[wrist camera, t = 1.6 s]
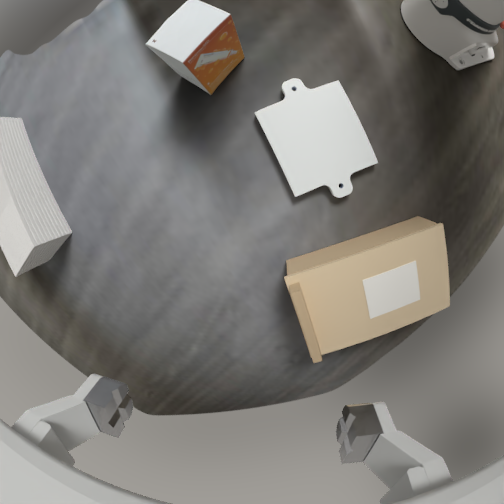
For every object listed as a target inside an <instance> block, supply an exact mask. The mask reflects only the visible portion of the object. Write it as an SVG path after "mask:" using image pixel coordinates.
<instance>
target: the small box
mask: <svg viewBox="0 0 504 504" xmlns="http://www.w3.org/2000/svg"><path fill="white" fill-rule="evenodd" d="M146 46H148V47H149V48H150V49H151V50H152V51H153V52H155V53H156V54H157V55H158V56H159V57H160V58H161V59H163V60H164V61H165V62H166V63H167V64H168V65H169V66H170V67H171V68H172V69H173V70H175V71H176V72H177V73H178V74H179V75H180V76H181V77H183V78H185V79H186V80H188V81H190V82H191V83H193V84H195V85H196V86H198V87H199V88H201V89H203V90H204V91H206V92H207V93H209V94H210V95H211V94H212V93H213V92H214V91H215V89H216V88H217V87H218V86H219V85H220V83H221V82H222V81H223V80H224V79H225V78H226V77H227V75H228V74H229V73H230V72H231V71H232V70H233V69H234V68H235V67H236V66H237V65H238V64H239V63H240V62H241V61H242V60H243V59H244V54H243V51H242V47H241V44H240V41H239V38H238V35H237V32H236V29H235V26H234V23H233V20H232V17H231V14H229V13H227V12H225V11H223V10H220V9H218V8H216V7H214V6H211V5H209V4H206V3H204V2H201V1H199V0H188V1H187V2H185V3H184V4H183V5H182V6H181V7H180V8H179V9H178V10H177V11H176V12H175V13H174V14H173V15H171V16H170V17H169V18H168V19H167V20H166V21H165V22H164V24H163V25H162V26H161V27H160V28H159V29H158V30H157V32H156V33H155V34H154V35H153V36H152V37H151V38H150V40H149V41H148V42H147V43H146Z"/></svg>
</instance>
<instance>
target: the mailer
mask: <svg viewBox="0 0 504 504" xmlns="http://www.w3.org/2000/svg"><path fill="white" fill-rule="evenodd" d="M436 224H437V223H435V222H433V221H430V220H427V219H425V218H422V217H419V216H417V217H414V218H411V219H408V220H406V221H403V222H400V223H397V224H394V225H391V226H388V227H385V228H382V229H379V230H377V231H374V232H371V233H368V234H365V235H362V236H359V237H356V238H353V239H350V240H347V241H344V242H341V243H338V244H335V245H332V246H329V247H326V248H323V249H320V250H317V251H314V252H311V253H308V254H304V255H301V256H298V257H295V258H292V259H289V260H286V263H287V275H291V274H294V273H297V272H300V271H303V270H307V269H310V268H313V267H316V266H319V265H322V264H325V263H328V262H331V261H334V260H337V259H340V258H343V257H346V256H349V255H352V254H355V253H358V252H361V251H364V250H367V249H370V248H372V247H375V246H378V245H381V244H384V243H387V242H390V241H392V240H395V239H398V238H401V237H403V236H406V235H409V234H412V233H414V232H417V231H420V230H423V229H425V228H428V227H431V226H433V225H436Z"/></svg>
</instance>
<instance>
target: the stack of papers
mask: <svg viewBox="0 0 504 504" xmlns="http://www.w3.org/2000/svg"><path fill="white" fill-rule="evenodd" d="M71 233H72V231H71V229H70V227H69V225H68V223H67V222H66V220H65V218H64V216H63V214H62V212H61V210H60V208H59V207H58V205H57V203H56V201H55V199H54V197H53V195H52V192H51V190H50V188H49V186H48V184H47V182H46V180H45V177H44V175H43V173H42V171H41V168H40V166H39V164H38V161H37V159H36V156H35V154H34V151H33V149H32V146H31V144H30V141H29V138H28V136H27V133H26V130H25V127H24V124H23V121H22V118H12V117H11V118H10V117H8V118H7V117H0V246H1V248H2V250H3V252H4V255H5V257H6V259H7V261H8V263H9V265H10V267H11V269H12V271H13V273H14V275H15V277H17V276H19V275H21V274H22V273H25V272H27V271H29V270H31V269H33V268H35V267H37V266H38V265H41V264H43V263H45V262H47V261H49V260H50V259H51V258H52V257H53V255H54V254H55V253H56V252H57V250H58V249H59V248H60V247H61V245H62V244H63V243H64V242H65V241H66V239H67V238H68V237H69V236H70V235H71Z"/></svg>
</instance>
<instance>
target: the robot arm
mask: <svg viewBox="0 0 504 504" xmlns="http://www.w3.org/2000/svg"><path fill="white" fill-rule="evenodd" d="M401 13H402V17H403V19H404V21H405V23H406V25H407V26H408V28H409V29H410V31H411V32H412V33H413V34H414V35H415V37H416V38H417V39H418V40H419V41H420V42H421V43H422V44H424V45H425V46H426V47H427V48H429V49H430V50H431V51H433V52H435V53H436V54H438V55H440V56H441V57H443V58H444V59H445V60H446V61H447V62H448V63H449V64H450V65H451V66H452V67H453V68H455V69H456V70H462V69H464V68H467V67H470V66H473V65H476V64H480V63H483V62H486V61H489V60H492V59H493V58H494V52H493V48H492V46H494V45H496V44H497V43H498V36H497V33H496V30H497V28H498V27H499V26H500V27H501V28H502V29H504V0H404V1H403V2H402V4H401ZM128 391H129V389H128V387H127V384H125V383H122V382H119V381H116V380H113V379H110V378H107V377H103V376H100V375H97V374H91V375H90V376H89V377H88V379H87V380H86V381H85V382H84V383H83V384H82V386H81V387H80V388H79V389H78V390H77V392H76V393H75V394H74V395H73V396H71V395H69V396H66V397H63V398H61V399H58V400H55V401H52V402H49V403H46V404H43V405H41V406H37V407H34V408H31V409H28V410H26V411H25V413H24V414H23V415H22V416H21V417H20V418H19V419H18V420H17V422H16V423H15V424H14V425H13V426H12V427H10V426H9V425H8V424H6V423H5V422H4V421H2V420H1V419H0V504H171V503H167V502H163V501H159V500H156V499H152V498H149V497H146V496H142V495H139V494H136V493H133V492H130V491H128V490H125V489H122V488H120V487H117V486H114V485H112V484H110V483H107V482H105V481H102V480H100V479H98V478H95V477H93V476H91V475H89V474H87V473H85V472H83V471H81V470H79V469H76V468H75V467H73V465H74V463H75V461H74V459H73V457H72V456H71V455H70V454H69V452H68V451H70V450H72V449H73V448H75V447H77V446H79V445H80V444H82V443H84V442H85V441H87V440H89V439H91V438H92V437H94V436H96V435H97V434H99V433H100V432H103V433H106V434H109V435H111V436H114V437H119V436H120V434H121V432H122V430H123V429H124V427H125V426H124V423H123V422H124V421H126V420H128V419H129V418H130V416H131V414H132V410H133V402H132V399H131V397H130V396H129V395H128V394H127V392H128ZM342 414H343V417H342V418H340V419H339V421H338V425H337V431H336V432H337V441H338V442H339V443H340V444H341V445H342V446H341V448H340V450H339V452H340V457H341V462H342V463H352V462H353V463H354V462H363V461H364V462H363V463H364V464H365V465H366V466H367V467H368V468H369V469H370V470H371V471H372V472H373V473H374V474H375V475H376V476H377V477H378V478H379V479H380V480H381V481H382V482H383V483H384V484H385V485H386V486H388V488H390V490H389V491H388V492H387V493H386V494H385V495H384V496H383V498H381V500H380V503H381V504H504V455H503V456H501V457H500V458H498V459H496V460H495V461H493V462H491V463H489V464H488V465H486V466H484V467H482V468H480V469H478V470H476V471H474V472H472V473H470V474H468V475H467V476H464V477H462V478H460V479H458V480H456V481H453V480H452V478H451V475H450V473H449V471H448V468H447V466H446V464H445V462H444V460H443V458H442V457H441V456H439V455H437V454H436V453H434V452H432V451H431V450H429V449H428V448H426V447H425V446H423V445H422V444H420V443H419V442H417V441H415V440H414V439H412V438H411V437H409V436H408V435H406V434H405V433H403V432H401V431H397V430H396V427H395V425H394V423H393V420H392V418H391V415H390V413H389V411H388V409H387V406H386V404H385V403H384V402H383V401H382V402H374V403H364V404H354V405H345V407H344V408H343V411H342Z"/></svg>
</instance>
